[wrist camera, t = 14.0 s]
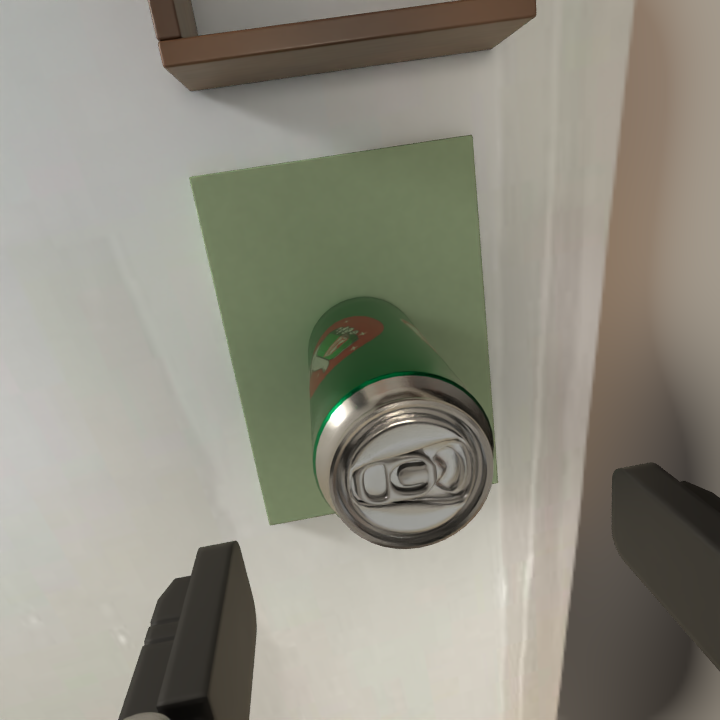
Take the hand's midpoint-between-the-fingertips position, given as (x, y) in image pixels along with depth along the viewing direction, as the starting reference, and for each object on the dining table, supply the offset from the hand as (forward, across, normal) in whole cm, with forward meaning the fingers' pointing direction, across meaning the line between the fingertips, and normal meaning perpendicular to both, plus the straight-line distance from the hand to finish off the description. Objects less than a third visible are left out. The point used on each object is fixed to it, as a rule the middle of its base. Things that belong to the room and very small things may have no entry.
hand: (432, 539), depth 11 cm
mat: (+15, 0, 0) cm, 15 cm away
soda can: (+15, 0, 0) cm, 15 cm away
